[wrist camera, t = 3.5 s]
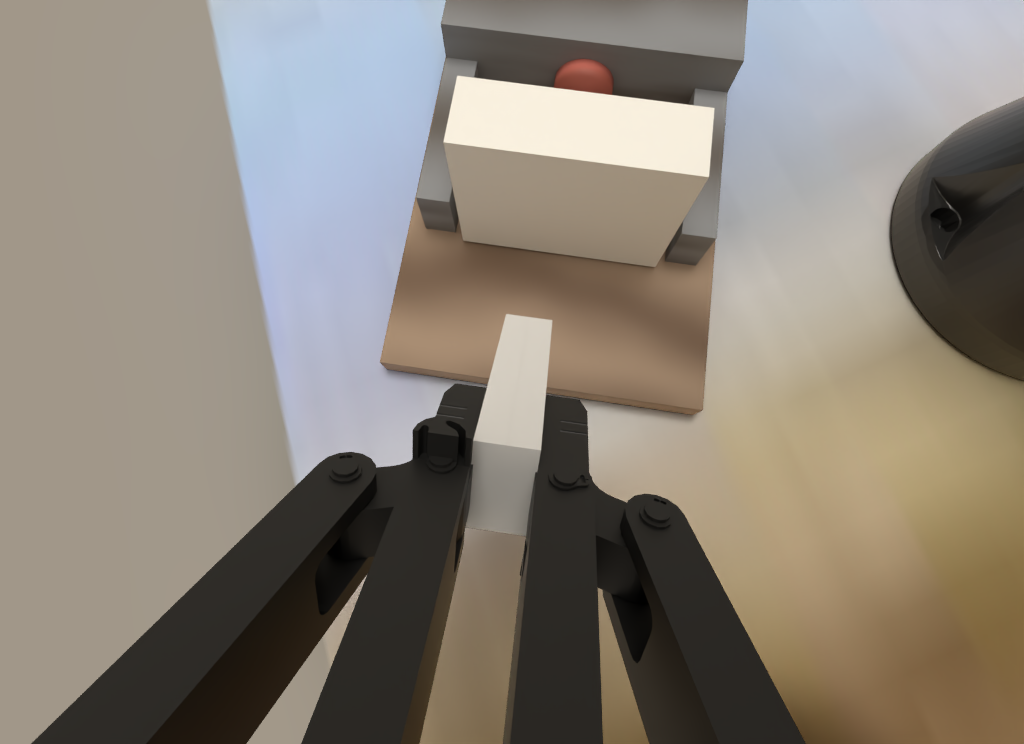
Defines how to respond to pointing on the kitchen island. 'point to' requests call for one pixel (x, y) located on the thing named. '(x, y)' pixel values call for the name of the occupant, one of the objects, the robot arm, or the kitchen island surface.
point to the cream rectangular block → (574, 169)
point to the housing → (556, 277)
